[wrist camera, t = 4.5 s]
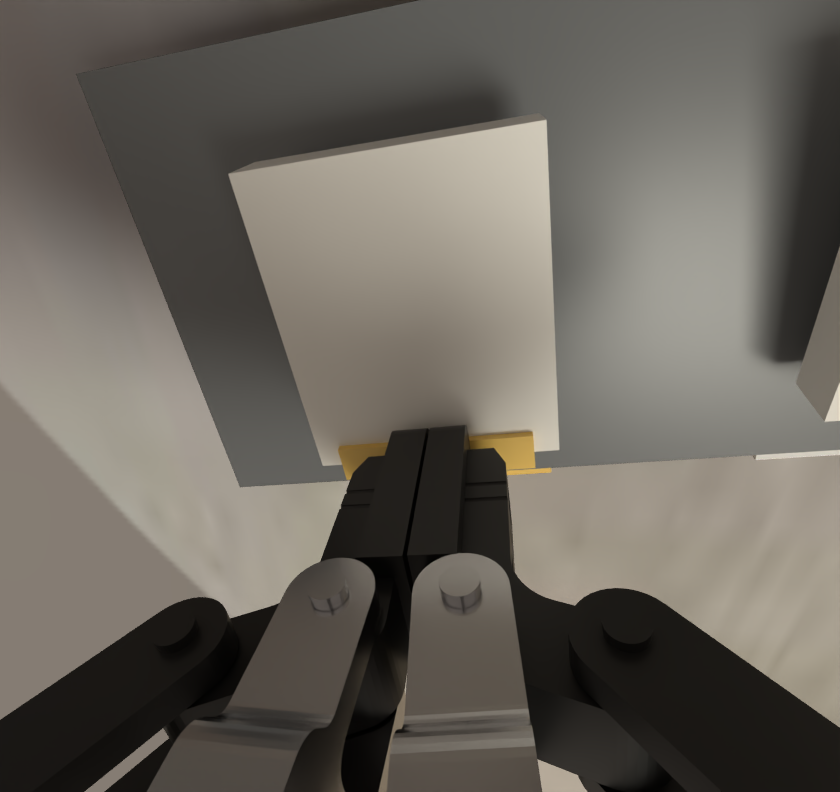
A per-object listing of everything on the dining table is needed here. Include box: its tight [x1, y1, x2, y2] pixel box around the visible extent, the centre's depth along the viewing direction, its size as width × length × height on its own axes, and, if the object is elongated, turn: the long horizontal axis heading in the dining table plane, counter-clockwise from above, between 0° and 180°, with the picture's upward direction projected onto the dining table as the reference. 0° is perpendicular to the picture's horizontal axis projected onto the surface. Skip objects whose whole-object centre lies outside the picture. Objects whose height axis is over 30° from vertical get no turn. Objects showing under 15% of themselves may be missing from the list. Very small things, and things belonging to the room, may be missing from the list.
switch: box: [228, 113, 559, 480], centre depth 10 cm, size 6×5×1 cm
